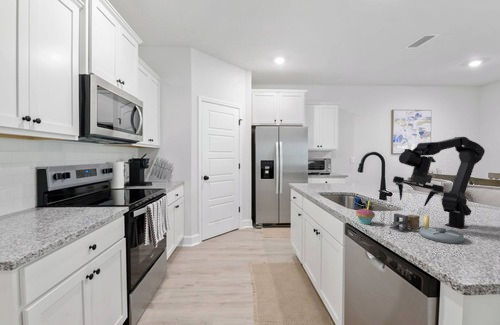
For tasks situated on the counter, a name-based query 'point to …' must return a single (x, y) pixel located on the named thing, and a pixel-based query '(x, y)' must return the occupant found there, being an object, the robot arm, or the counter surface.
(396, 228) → the eye bracket
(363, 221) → the cupcake
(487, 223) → the counter surface
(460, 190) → the robot arm
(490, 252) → the counter surface
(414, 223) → the grey brown long block
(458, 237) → the handwheel
